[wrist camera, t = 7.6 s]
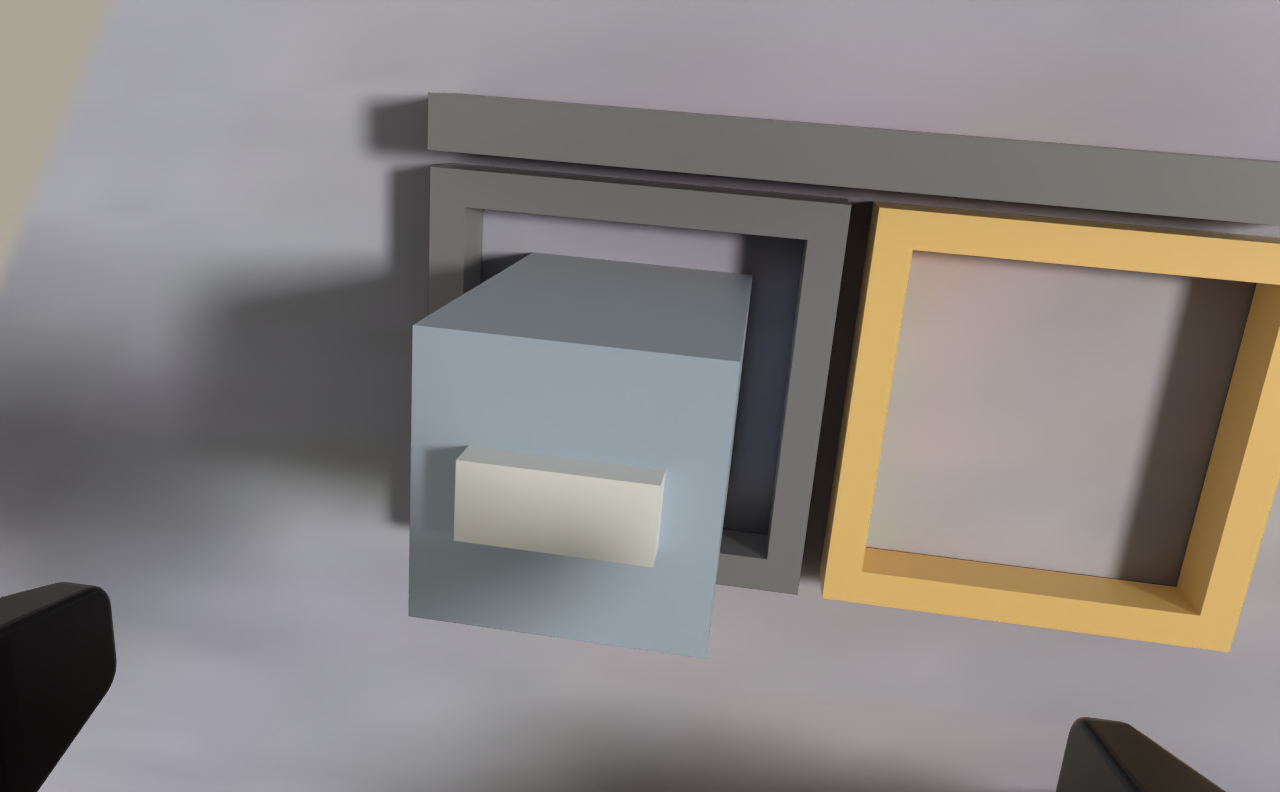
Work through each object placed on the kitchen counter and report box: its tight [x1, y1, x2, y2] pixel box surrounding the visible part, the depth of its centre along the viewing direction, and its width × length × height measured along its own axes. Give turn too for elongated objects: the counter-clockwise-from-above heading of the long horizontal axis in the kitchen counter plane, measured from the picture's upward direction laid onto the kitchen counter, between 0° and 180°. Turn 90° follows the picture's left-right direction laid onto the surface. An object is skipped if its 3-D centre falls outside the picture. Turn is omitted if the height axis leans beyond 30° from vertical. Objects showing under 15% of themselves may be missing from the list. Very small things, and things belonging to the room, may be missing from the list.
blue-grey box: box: [409, 252, 753, 659], centre depth 17 cm, size 4×4×8 cm
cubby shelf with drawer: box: [428, 93, 1280, 652], centre depth 19 cm, size 9×16×2 cm, turn 86°
